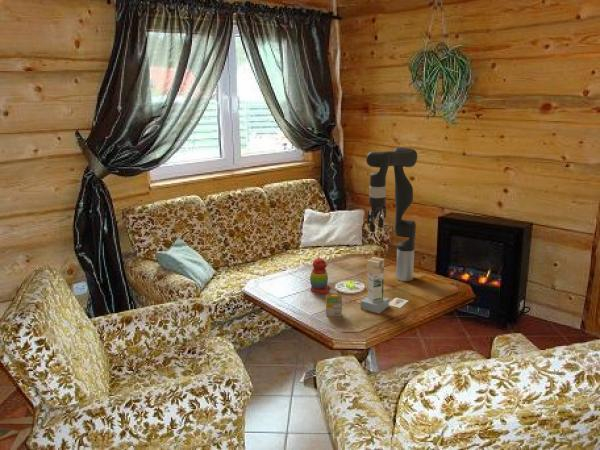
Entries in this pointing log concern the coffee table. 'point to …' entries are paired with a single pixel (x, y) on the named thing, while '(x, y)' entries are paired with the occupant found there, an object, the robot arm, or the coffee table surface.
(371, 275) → the syrup box
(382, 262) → the birch cube
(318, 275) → the stacking bear
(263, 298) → the coffee table surface
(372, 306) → the base brick
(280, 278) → the coffee table surface
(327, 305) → the crayon box
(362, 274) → the coffee table surface
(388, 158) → the robot arm
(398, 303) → the page
